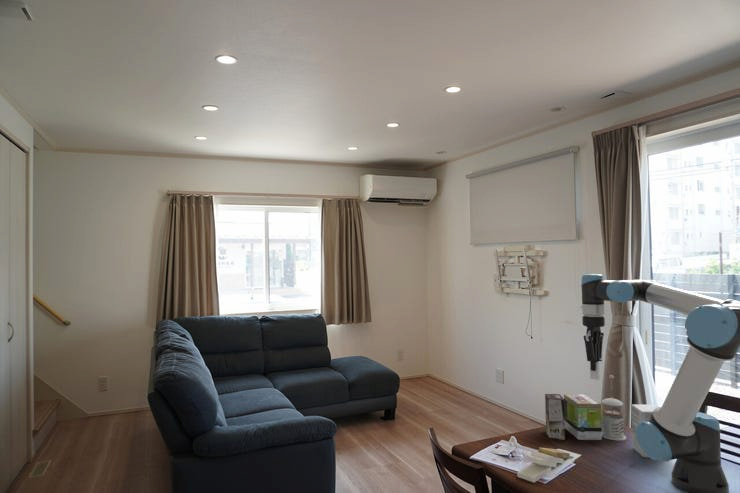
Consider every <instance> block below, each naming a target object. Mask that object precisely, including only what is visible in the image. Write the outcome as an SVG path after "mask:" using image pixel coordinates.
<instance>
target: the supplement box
mask: <svg viewBox="0 0 740 493" xmlns="http://www.w3.org/2000/svg"><path fill="white" fill-rule="evenodd" d="M630 407H631V428H632V429H631V430H632V431H631V432H632V449H634V451H636V452H637V453H638V454H640V455H641V456H642V457H643V458H650V457H649V456H647V455H646V454H645V453H644V451H643V450H642V449H641V447H640V445H639V443H638V440H637V437H636V428H637V426H638V424H640V423H641V422H643V421H648V420H649V419H650V417H651V415H652V413H653V411H654V409H656V408H658V407H660V405H657V404H631V406H630Z"/></svg>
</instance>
